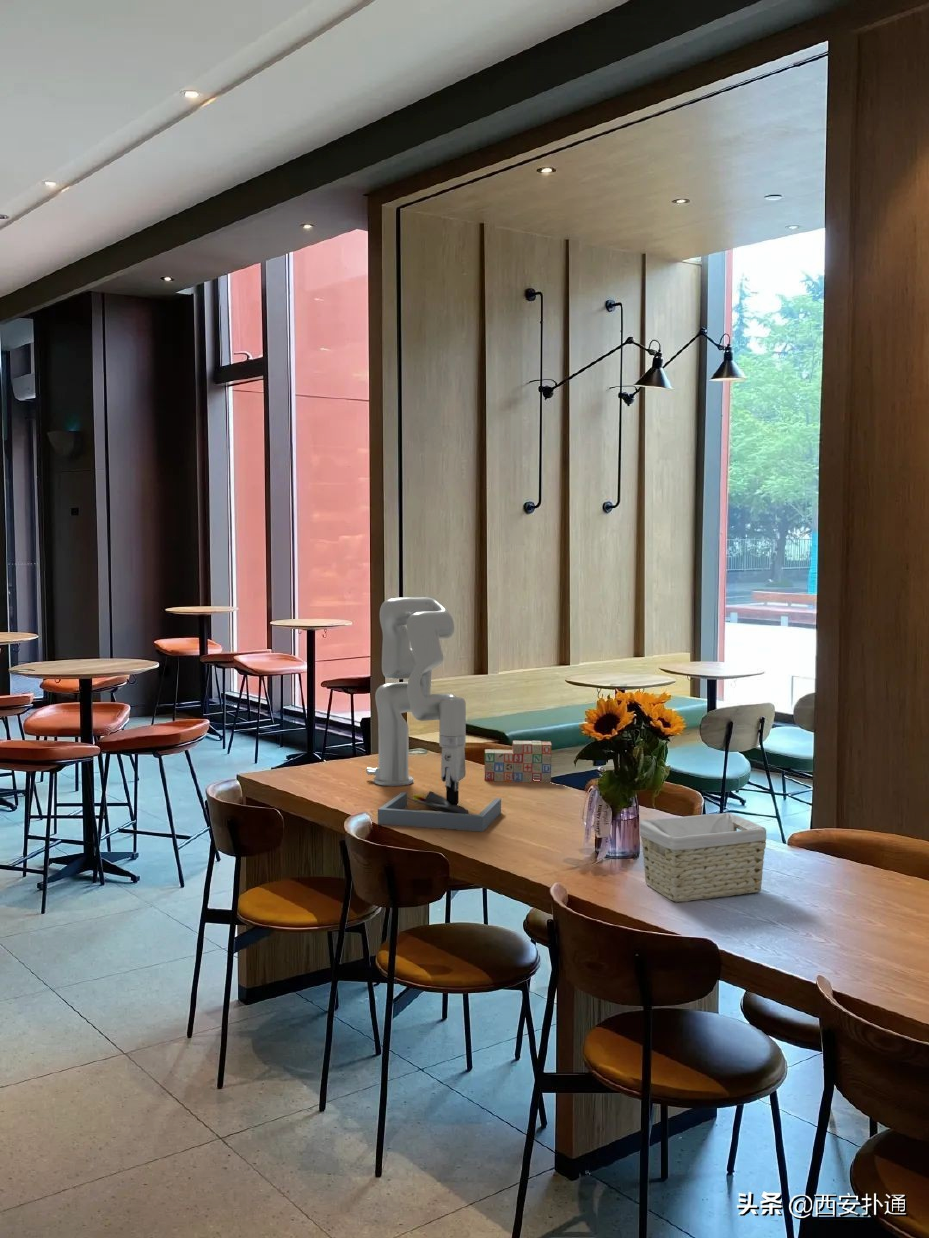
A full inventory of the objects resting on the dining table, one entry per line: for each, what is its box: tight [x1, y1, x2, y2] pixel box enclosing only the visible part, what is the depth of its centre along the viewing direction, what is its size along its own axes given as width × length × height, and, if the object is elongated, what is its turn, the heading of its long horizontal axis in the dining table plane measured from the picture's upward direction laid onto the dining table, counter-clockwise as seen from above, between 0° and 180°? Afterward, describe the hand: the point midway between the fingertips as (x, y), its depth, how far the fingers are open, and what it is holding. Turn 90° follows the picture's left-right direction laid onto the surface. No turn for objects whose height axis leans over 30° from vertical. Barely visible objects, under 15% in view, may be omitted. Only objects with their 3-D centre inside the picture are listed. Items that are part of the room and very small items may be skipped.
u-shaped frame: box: [377, 791, 502, 832], centre depth 303 cm, size 29×21×4 cm
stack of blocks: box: [484, 740, 553, 783], centre depth 353 cm, size 21×6×12 cm, turn 88°
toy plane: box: [408, 790, 469, 814], centre depth 312 cm, size 25×17×5 cm
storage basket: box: [638, 812, 767, 903], centre depth 241 cm, size 24×16×15 cm
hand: (452, 804), depth 314 cm, fingers closed
